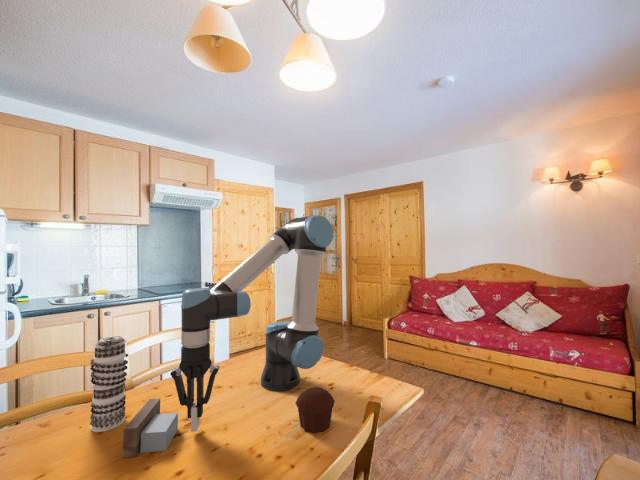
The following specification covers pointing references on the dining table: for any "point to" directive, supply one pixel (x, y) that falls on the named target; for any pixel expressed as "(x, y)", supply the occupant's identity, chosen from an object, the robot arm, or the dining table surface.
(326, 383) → the dining table surface
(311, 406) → the muffin
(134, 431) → the board
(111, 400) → the decorative candle
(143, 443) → the slate block
